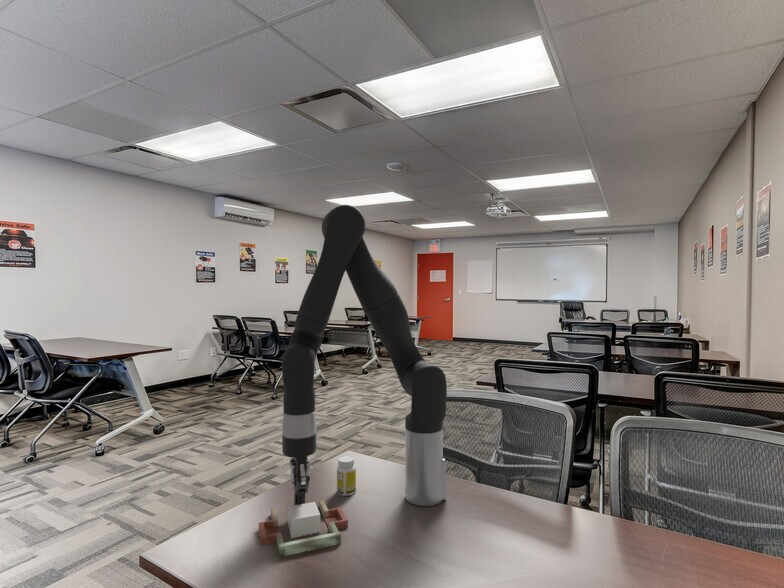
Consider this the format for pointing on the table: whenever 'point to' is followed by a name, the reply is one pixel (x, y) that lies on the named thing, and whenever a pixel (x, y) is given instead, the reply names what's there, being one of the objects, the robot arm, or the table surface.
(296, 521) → the grey block
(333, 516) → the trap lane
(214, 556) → the table surface
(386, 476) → the table surface
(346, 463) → the supplement bottle
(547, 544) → the table surface
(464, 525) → the table surface
